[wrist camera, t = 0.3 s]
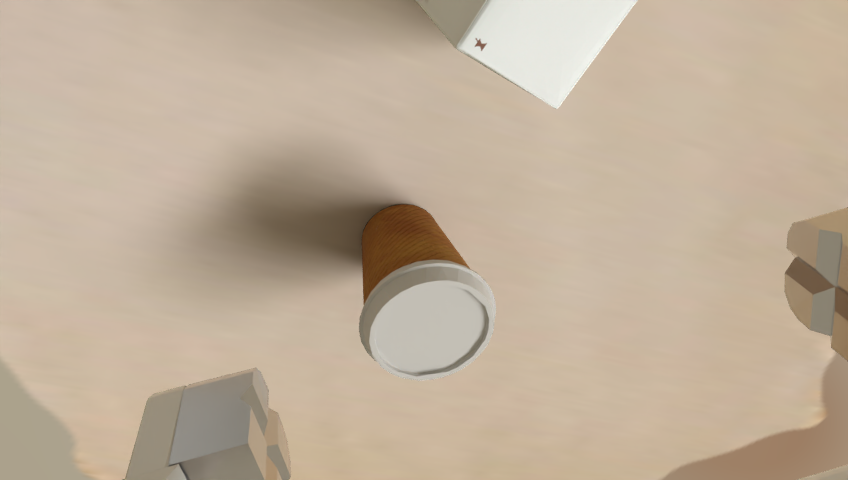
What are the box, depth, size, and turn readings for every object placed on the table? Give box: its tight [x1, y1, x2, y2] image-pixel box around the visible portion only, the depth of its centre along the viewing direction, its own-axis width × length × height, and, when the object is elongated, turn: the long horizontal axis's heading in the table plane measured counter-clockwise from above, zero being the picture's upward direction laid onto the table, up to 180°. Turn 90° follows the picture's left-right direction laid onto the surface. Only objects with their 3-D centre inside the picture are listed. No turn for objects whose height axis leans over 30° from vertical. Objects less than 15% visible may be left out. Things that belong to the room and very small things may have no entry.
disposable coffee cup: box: [359, 204, 496, 381], centre depth 51 cm, size 10×10×12 cm
